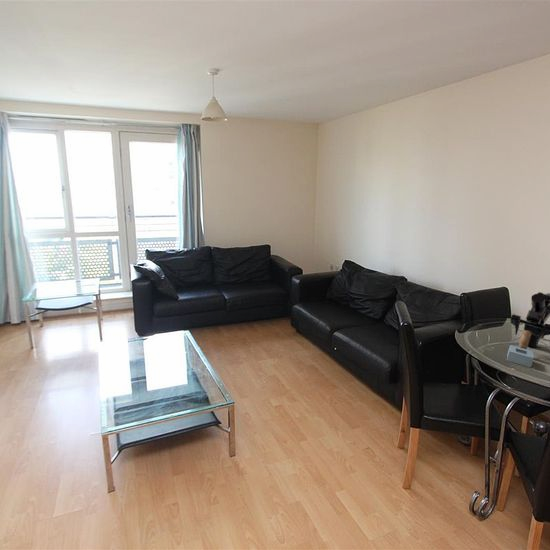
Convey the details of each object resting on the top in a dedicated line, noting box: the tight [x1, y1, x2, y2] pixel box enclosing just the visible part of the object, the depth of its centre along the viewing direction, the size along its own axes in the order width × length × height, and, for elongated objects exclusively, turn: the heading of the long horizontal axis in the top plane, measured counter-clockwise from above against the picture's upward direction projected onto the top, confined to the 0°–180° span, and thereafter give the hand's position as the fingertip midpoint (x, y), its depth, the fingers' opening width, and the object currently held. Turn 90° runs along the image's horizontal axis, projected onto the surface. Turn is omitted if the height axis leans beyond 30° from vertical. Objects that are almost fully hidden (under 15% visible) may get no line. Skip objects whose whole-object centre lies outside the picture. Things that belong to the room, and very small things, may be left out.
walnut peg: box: [518, 329, 532, 350], centre depth 191 cm, size 4×4×13 cm
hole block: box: [506, 344, 535, 368], centre depth 185 cm, size 10×10×5 cm
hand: (525, 337), depth 191 cm, fingers open, 9 cm apart
